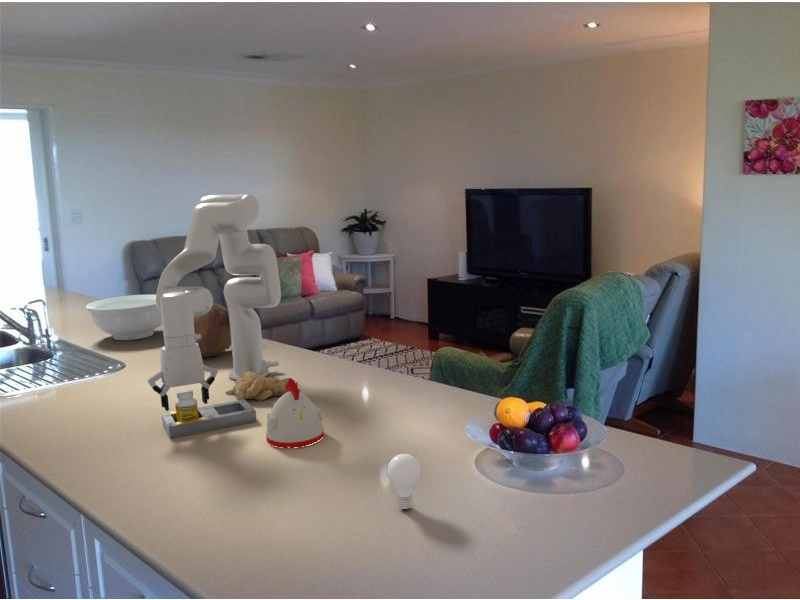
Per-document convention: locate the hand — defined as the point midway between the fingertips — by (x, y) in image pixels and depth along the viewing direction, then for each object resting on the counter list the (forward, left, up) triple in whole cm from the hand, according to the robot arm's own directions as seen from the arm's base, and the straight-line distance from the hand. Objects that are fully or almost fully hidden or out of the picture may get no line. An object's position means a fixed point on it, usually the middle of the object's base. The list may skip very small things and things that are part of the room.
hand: (186, 405), depth 187 cm
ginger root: (-23, -15, -6) cm, 28 cm away
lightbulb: (-28, +69, -6) cm, 75 cm away
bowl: (-2, -121, -6) cm, 121 cm away
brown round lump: (-26, -74, -6) cm, 78 cm away
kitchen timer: (-22, +22, -6) cm, 31 cm away
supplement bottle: (0, 0, -6) cm, 6 cm away
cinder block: (-6, 0, -6) cm, 8 cm away
